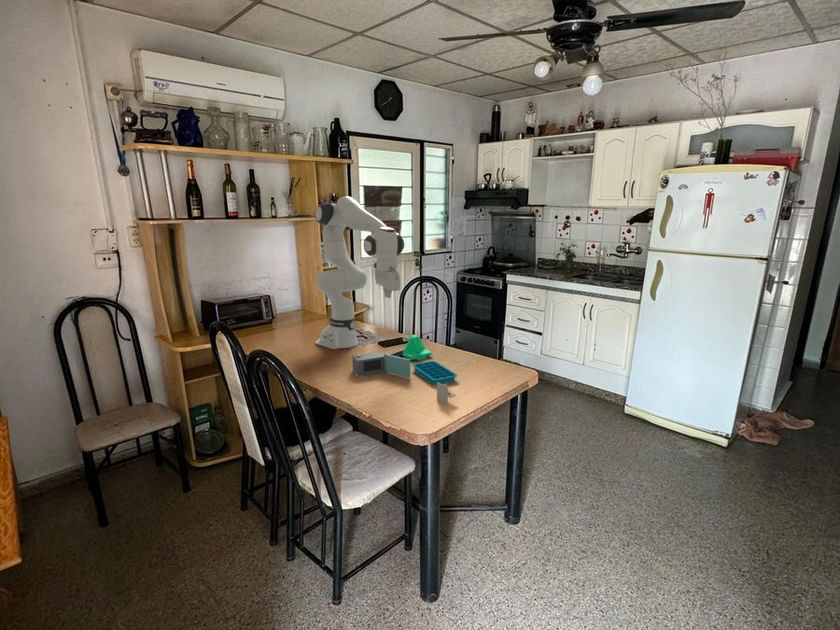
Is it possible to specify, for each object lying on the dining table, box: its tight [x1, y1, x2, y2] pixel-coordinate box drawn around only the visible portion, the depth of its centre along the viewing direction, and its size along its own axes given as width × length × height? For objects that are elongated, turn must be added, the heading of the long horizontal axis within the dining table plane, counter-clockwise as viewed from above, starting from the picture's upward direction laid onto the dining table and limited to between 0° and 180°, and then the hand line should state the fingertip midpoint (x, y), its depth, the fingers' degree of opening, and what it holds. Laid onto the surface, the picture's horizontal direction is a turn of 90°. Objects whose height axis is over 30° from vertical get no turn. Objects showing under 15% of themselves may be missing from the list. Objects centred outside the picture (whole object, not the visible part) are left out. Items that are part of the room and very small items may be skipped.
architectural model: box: [436, 382, 457, 405], centre depth 161 cm, size 3×7×7 cm, turn 41°
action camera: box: [351, 351, 385, 377], centre depth 190 cm, size 15×7×8 cm, turn 117°
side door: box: [383, 353, 411, 379], centre depth 185 cm, size 13×1×8 cm, turn 58°
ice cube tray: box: [412, 360, 458, 386], centre depth 186 cm, size 12×20×3 cm, turn 28°
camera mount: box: [402, 334, 433, 361], centre depth 207 cm, size 12×8×10 cm, turn 124°
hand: (387, 297), depth 191 cm, fingers closed
